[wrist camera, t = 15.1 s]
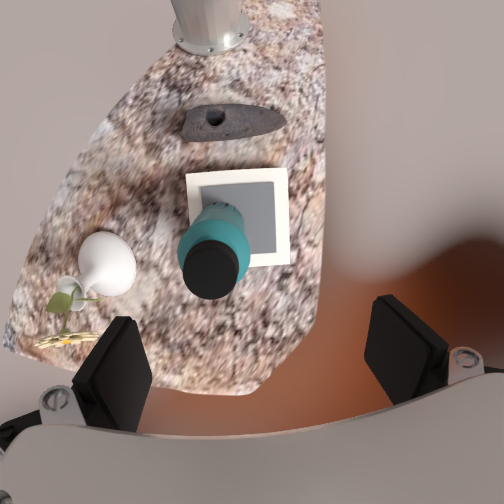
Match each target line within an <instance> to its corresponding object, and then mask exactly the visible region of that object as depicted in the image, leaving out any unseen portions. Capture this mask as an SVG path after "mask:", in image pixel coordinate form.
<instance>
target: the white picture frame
mask: <svg viewBox="0 0 504 504" xmlns="http://www.w3.org/2000/svg"><path fill="white" fill-rule="evenodd" d="M186 184H187V197H188V209H189V220H190V226H191V225H192V223H193V222H194V220H195V219H196V218H197V217H198V216H199V215H200V213H201V212H202V210H204V209H205V208H206V207H207V205H208V206H209V204H210V205H211V204H213V203H215V202H217V203H218V202H223V203H224V202H225V203H228V204H230V205H232V206H235V208H236V209H237V210H238V211H239V212H240V214H241V216H242V218H243V217H244V218H243V222H245V223H244V227H245V234H246V238H247V241H248V243H249V247H250V253H251V258H250V264H249V267H255V266H269V265H282V264H290V242H289V204H288V178H287V168H262V169H242V170H226V171H213V172H202V173H191V174H186ZM200 211H201V212H200Z"/></svg>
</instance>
